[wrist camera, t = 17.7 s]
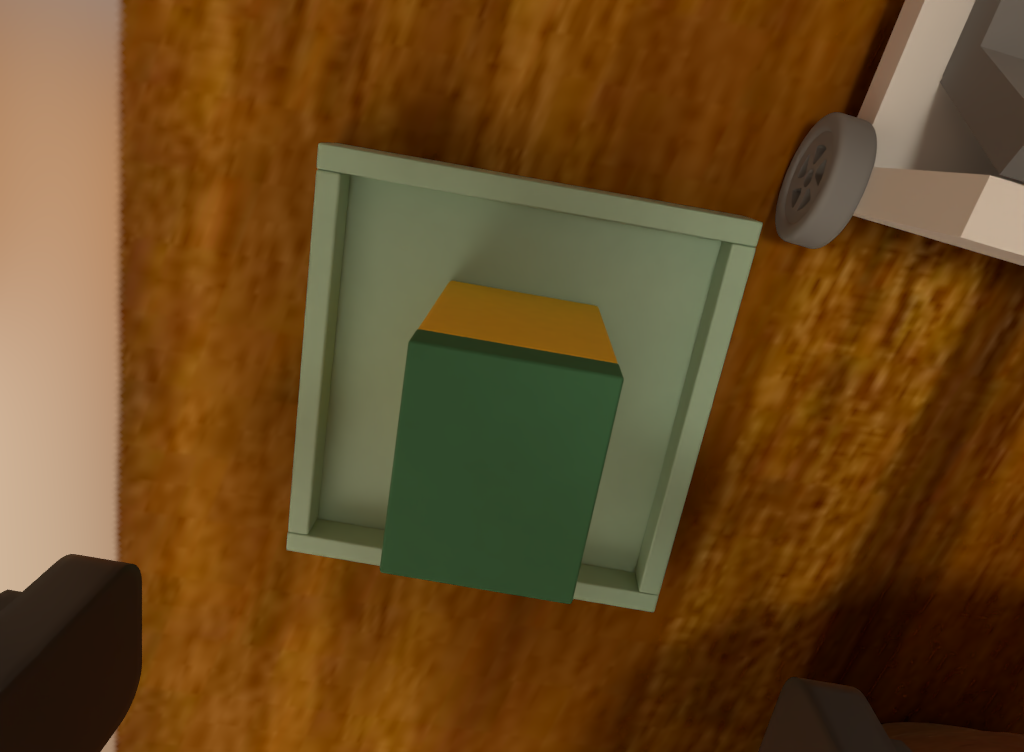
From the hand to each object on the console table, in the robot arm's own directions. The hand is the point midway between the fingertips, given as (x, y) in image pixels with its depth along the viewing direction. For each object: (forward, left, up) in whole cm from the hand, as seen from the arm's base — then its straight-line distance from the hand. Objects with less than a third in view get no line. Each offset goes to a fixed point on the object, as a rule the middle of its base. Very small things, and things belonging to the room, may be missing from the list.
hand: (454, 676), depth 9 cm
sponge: (0, 0, -11) cm, 11 cm away
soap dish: (0, 0, -12) cm, 12 cm away
